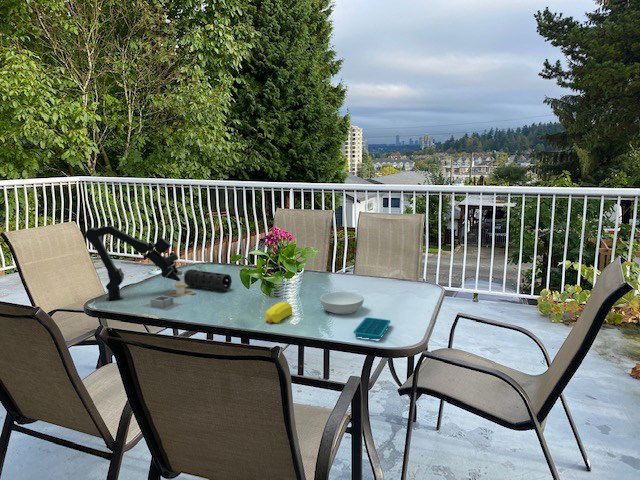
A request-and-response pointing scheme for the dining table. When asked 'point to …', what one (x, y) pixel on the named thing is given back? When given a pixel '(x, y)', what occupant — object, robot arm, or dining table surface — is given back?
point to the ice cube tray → (372, 328)
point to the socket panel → (162, 303)
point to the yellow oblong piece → (278, 312)
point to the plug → (180, 283)
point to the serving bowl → (342, 302)
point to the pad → (187, 292)
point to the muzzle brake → (207, 280)
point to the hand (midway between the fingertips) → (180, 278)
